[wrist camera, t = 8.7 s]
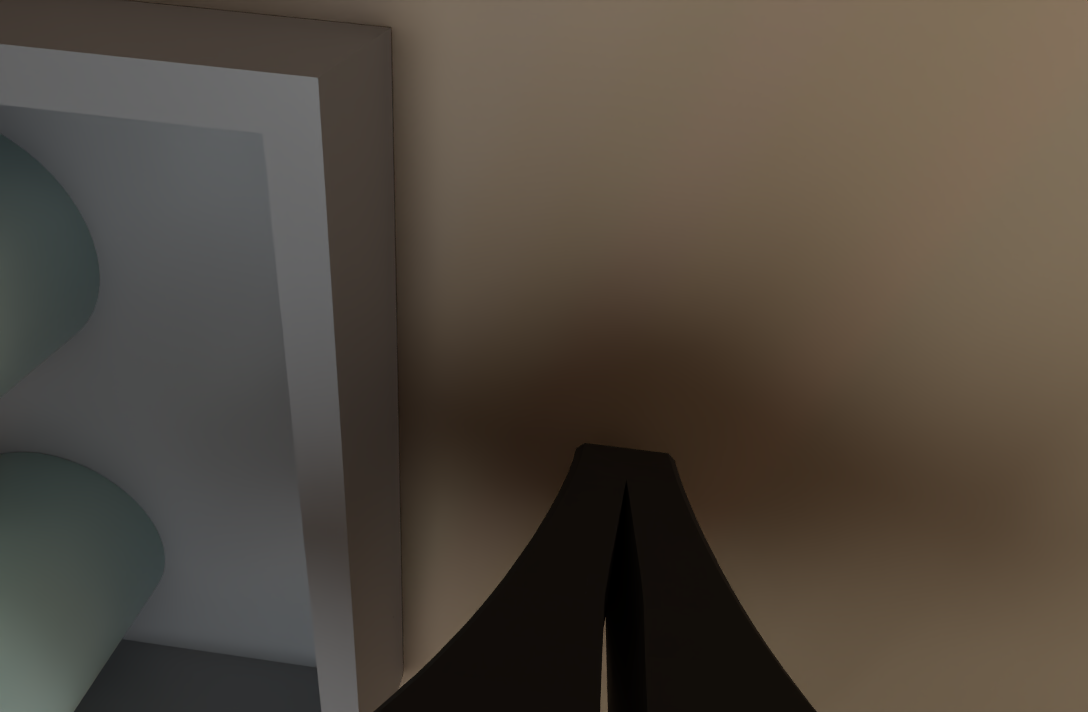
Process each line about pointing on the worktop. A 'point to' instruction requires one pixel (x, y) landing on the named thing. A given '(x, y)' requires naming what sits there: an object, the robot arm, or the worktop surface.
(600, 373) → the worktop surface
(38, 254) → the mint green capsule
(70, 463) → the pale green rounded cylinder
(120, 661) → the tray
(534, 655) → the robot arm
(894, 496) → the worktop surface
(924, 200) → the worktop surface
